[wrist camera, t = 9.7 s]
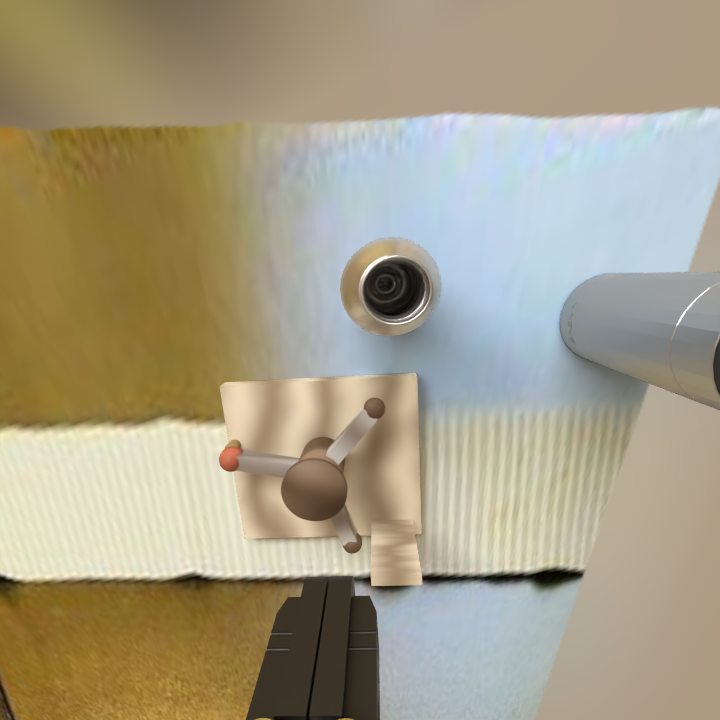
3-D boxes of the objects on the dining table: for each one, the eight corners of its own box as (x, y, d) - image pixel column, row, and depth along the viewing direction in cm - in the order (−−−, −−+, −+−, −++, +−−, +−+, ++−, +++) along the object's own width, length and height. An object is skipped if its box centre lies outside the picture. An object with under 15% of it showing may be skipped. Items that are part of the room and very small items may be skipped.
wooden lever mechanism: (415, 372, 39) (428, 402, 30) (419, 526, 44) (432, 593, 34) (225, 382, 40) (180, 413, 31) (249, 531, 45) (216, 597, 36)
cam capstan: (236, 367, 38) (207, 386, 31) (385, 389, 38) (388, 413, 31) (227, 510, 42) (200, 554, 35) (361, 531, 42) (359, 578, 35)
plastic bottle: (421, 307, 37) (473, 339, 18) (360, 320, 38) (345, 365, 18) (410, 245, 36) (454, 208, 16) (347, 260, 36) (316, 240, 17)
